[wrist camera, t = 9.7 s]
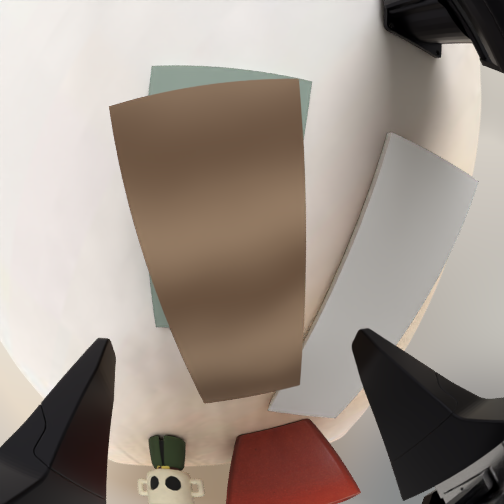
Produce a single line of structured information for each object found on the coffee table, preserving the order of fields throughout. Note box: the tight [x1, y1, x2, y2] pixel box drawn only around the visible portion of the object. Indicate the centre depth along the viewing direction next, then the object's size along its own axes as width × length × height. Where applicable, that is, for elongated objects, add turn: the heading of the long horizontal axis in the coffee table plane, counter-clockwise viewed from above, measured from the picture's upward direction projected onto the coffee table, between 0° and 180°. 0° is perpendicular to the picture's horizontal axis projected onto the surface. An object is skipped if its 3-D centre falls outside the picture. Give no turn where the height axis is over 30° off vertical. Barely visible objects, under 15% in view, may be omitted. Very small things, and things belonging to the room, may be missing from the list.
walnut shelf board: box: [109, 79, 306, 403], centre depth 13 cm, size 16×6×4 cm, turn 6°
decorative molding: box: [268, 132, 479, 418], centre depth 26 cm, size 34×5×10 cm
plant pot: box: [226, 419, 361, 504], centre depth 34 cm, size 19×19×17 cm
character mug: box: [138, 436, 205, 504], centre depth 30 cm, size 11×7×13 cm, turn 94°
